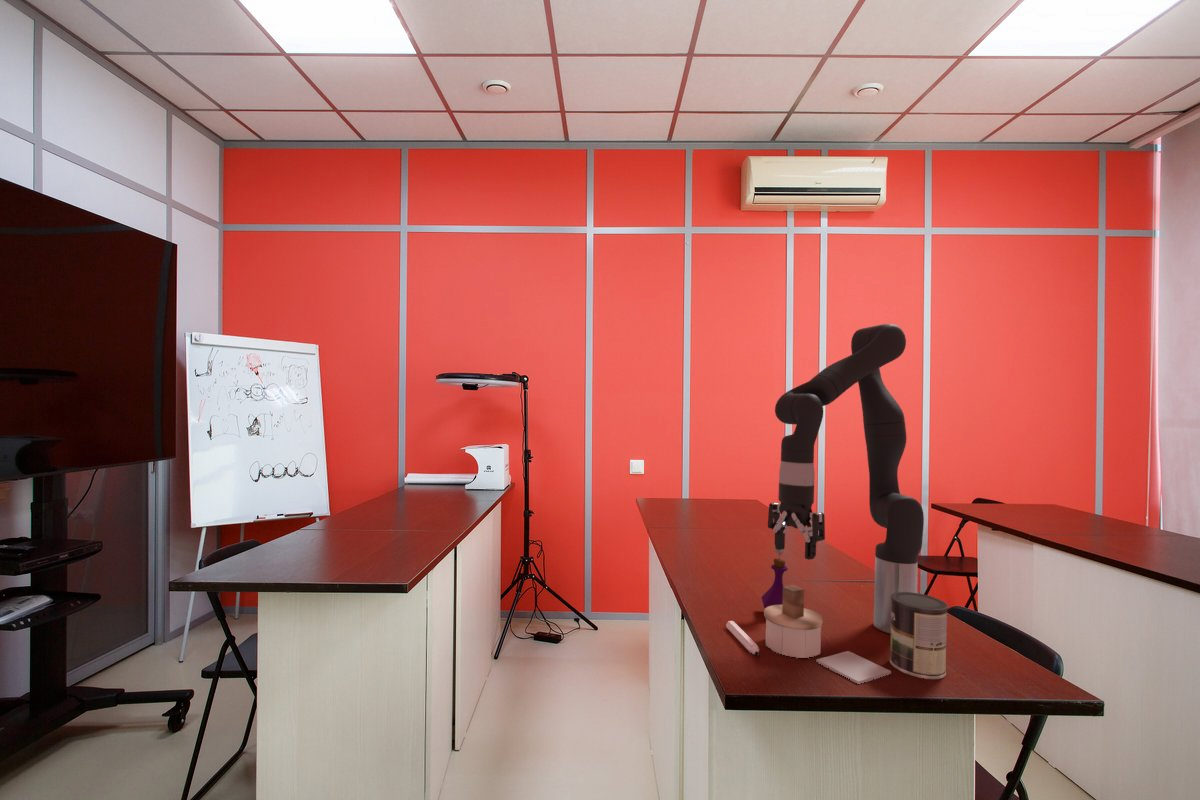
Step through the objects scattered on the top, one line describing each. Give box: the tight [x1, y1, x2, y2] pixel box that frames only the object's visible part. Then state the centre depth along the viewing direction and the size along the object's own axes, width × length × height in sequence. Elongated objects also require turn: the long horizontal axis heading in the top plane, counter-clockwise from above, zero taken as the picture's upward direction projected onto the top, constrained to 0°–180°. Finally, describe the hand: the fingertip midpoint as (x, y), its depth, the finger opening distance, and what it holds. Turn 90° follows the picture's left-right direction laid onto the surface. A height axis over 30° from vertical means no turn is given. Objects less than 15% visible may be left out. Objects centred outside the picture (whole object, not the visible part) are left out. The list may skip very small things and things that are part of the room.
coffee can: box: [889, 592, 949, 680], centre depth 113 cm, size 10×10×14 cm
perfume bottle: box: [761, 545, 789, 609], centre depth 139 cm, size 8×8×18 cm
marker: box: [725, 620, 760, 657], centre depth 122 cm, size 3×2×16 cm
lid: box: [763, 584, 824, 630], centre depth 121 cm, size 12×12×7 cm
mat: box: [816, 650, 892, 685], centre depth 112 cm, size 10×10×1 cm
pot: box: [765, 618, 822, 659], centre depth 121 cm, size 11×11×6 cm
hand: (794, 553), depth 121 cm, fingers open, 8 cm apart
